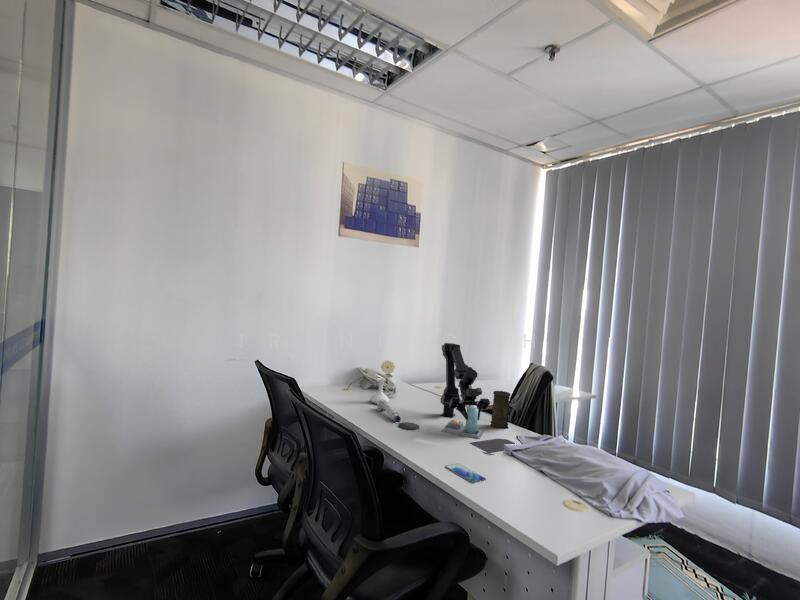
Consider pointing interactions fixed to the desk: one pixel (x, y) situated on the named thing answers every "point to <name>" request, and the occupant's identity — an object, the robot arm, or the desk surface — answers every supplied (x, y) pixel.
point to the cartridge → (471, 420)
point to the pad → (408, 426)
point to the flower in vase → (387, 368)
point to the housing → (461, 430)
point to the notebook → (491, 445)
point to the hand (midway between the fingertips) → (472, 419)
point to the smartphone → (465, 473)
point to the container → (500, 410)
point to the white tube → (388, 410)
